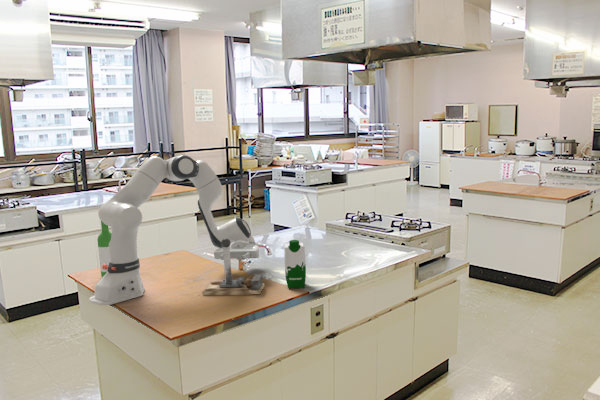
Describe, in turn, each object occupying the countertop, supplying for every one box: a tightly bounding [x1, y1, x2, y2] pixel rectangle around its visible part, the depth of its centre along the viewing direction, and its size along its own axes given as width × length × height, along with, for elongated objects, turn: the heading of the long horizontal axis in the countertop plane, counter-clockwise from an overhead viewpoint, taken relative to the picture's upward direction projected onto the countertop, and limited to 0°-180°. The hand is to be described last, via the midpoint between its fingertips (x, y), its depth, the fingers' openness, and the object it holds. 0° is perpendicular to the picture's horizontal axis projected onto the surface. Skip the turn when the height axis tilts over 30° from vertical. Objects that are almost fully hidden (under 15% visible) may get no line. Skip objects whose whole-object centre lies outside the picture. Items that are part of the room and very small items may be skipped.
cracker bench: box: [201, 274, 265, 296], centre depth 207 cm, size 24×10×6 cm, turn 84°
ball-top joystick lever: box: [219, 239, 245, 288], centre depth 205 cm, size 9×7×21 cm
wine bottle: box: [97, 220, 112, 279], centre depth 233 cm, size 8×8×30 cm
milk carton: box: [283, 239, 307, 290], centre depth 208 cm, size 9×9×20 cm
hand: (233, 257), depth 214 cm, fingers open, 8 cm apart
